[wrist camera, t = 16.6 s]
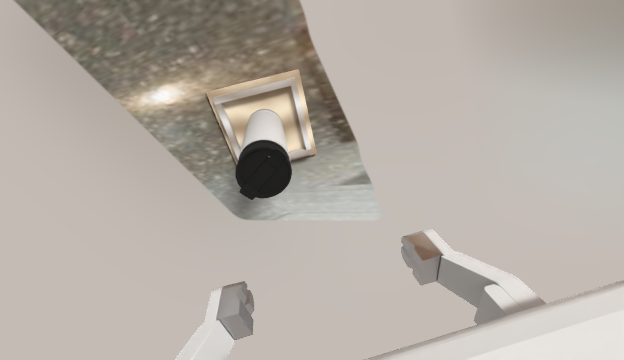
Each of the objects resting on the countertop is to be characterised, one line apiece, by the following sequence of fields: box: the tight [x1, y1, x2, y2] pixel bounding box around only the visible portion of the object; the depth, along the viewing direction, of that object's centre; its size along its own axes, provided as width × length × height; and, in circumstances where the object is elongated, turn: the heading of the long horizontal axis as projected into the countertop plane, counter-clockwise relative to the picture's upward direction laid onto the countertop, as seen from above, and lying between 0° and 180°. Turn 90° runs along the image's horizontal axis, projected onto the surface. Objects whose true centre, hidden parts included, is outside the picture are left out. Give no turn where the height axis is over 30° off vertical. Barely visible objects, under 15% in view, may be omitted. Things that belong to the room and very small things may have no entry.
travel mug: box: [236, 109, 292, 200], centre depth 33 cm, size 6×7×20 cm
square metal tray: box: [206, 69, 317, 164], centre depth 42 cm, size 16×16×2 cm
